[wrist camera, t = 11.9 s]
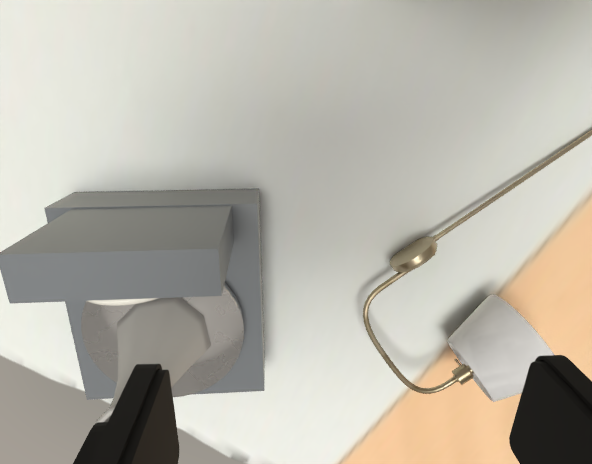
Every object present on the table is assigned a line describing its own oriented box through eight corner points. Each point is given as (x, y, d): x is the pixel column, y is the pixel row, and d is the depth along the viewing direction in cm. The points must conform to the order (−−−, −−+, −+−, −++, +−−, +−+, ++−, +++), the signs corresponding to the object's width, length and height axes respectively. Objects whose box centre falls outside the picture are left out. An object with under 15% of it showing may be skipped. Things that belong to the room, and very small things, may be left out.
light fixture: (754, 203, 41) (426, 412, 44) (672, 56, 39) (335, 285, 42) (886, 210, 32) (460, 474, 35) (788, 18, 30) (346, 315, 33)
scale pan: (240, 253, 32) (239, 258, 31) (247, 385, 36) (246, 393, 35) (72, 258, 31) (66, 263, 30) (100, 392, 36) (95, 400, 35)
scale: (258, 188, 36) (253, 246, 23) (264, 356, 42) (263, 479, 29) (74, 192, 35) (-43, 253, 22) (107, 363, 41) (31, 494, 28)
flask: (226, 346, 34) (210, 446, 24) (152, 381, 34) (109, 491, 25) (180, 278, 31) (143, 359, 22) (101, 316, 32) (33, 411, 23)
